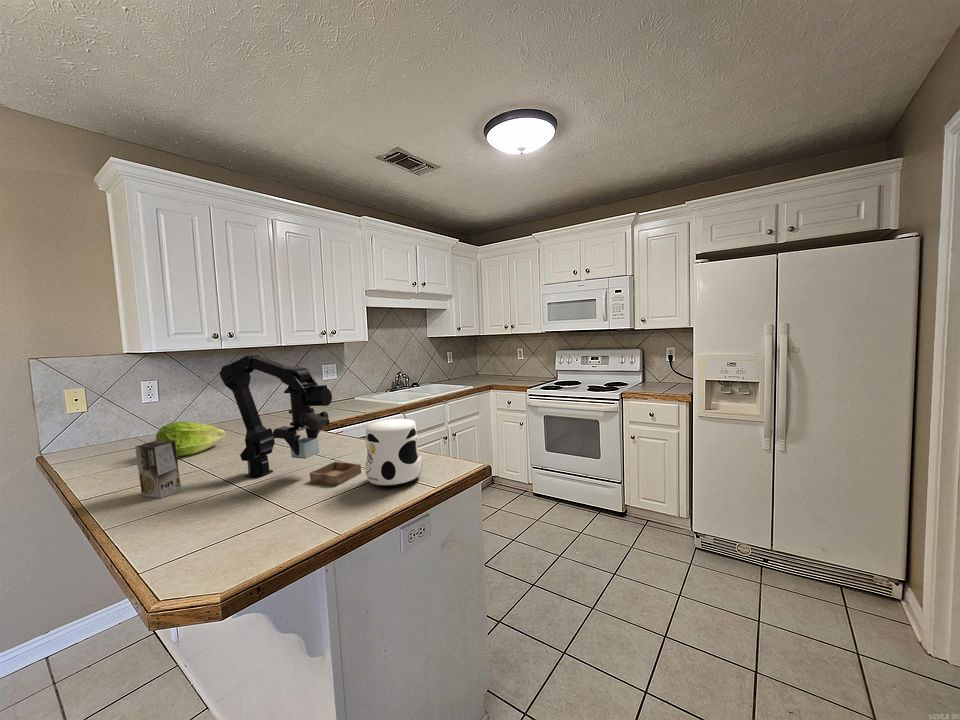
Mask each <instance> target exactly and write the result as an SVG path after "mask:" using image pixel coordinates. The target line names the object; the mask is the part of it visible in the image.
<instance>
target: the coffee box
mask: <svg viewBox="0 0 960 720" xmlns="http://www.w3.org/2000/svg"><path fill="white" fill-rule="evenodd" d="M134 448H135V449H134V450H135V455H136V463H137V469H138V476H139V483H140V491H141V496H142V497H148V498H149V497H150V498H156V499H157V498H158V499H162V498H165V497H168V496H170V495H173V494H175V493H179V492H181V491H182V487H181V480H180V472H179V463H178V457H177V453H176V445H175V441H156V440H153V441H149V442H145V443H143V444H139V445H136V446H135V447H134Z"/></svg>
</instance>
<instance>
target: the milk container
mask: <svg viewBox="0 0 960 720" xmlns="http://www.w3.org/2000/svg"><path fill="white" fill-rule="evenodd" d="M365 428H366V429H365V439H366V441H365V443H366V450H367V451H366V453H367V455H366V461H365V469H364V470H365V475H366V478H367V481H368V482H369V483H370V484H372V485H374V486H377V487H382V488H383V487H384V488H390V487H399V486H404V485H406V484H410V483H412V482H413V481H415V480H416V479H418V478H419V477H420V475H421V474H422V467H423V461H422V457H421V454H420V451H419V447H418V445H419V444H418V434H417V433H418V432H417V425H416V421H415V420H413V419H410V418H409V419H408V418H392V419H391V418H390V419H383V420H379V421H374V422H371V423H369V424H368V425H366V427H365Z"/></svg>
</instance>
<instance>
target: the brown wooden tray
mask: <svg viewBox="0 0 960 720" xmlns="http://www.w3.org/2000/svg"><path fill="white" fill-rule="evenodd" d="M360 474H362V464H360V463H353V462H344V461H333V462H330V463H329V464H327V465H324V466H322V467H320V468H318V469H314V470H313V471H310V472H309V478H310V479H309V480H310V483H315V484H322V485H331V486H336V487H337V486H340V485H341V484H343V483H345V482H347V481H349V480H351V479H353V478H354V477H357V476H358V475H360Z"/></svg>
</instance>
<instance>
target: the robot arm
mask: <svg viewBox="0 0 960 720" xmlns="http://www.w3.org/2000/svg"><path fill="white" fill-rule="evenodd" d="M255 370H257V371H259V372H261V373H263V374H264V373H265V374H268V375H270V376H273V377H276V378H278V379H279V380H280V382H281V383H283V384H284V385H286V386H287V387H286V389H284V391H283V394H289V398H290V410H289V409H288V414H291V418H292V421H291V422H289V426H279V427H277V428H274V430H273V429H272V428H270V427H269V428H266V427H265V426H264V425H263V423H262V420H261V417H260V414H259V412H258V409H257V405H256V404H255V401H254V397H253V395H252V392H251V389H250V383H251V373H253V372H254V371H255ZM219 376H220V379H221V380H222V382H223V384H224V386H225V387H226V388H228V389H229V390H231V392H232V394H233V396H234V400H235V402H236V404H237V407H238V410H239V412H240V416H241V418H242V421H243V424H244V428H245V430H246V434H245V439H244V443H245V448H244V449H243V450H242V452H241V453H240V454H239V456H240V458H241V461H243V462H246V463H247V470H248V473H245V474H244V477H248V478H253V479H258V478H262V477H263V476H266V475H268V474H271V473H272V472H274V470H273V469H270V463H269V456H268V455H271V454H272V453H273V448H274V446H275V444H276V442H275V440H276V439H280V440H281V439H282V440H283V439H284V441H286V443H287V445H288V446H289V447H290V450H291V449H292V450H293V452H294V453H295V455H299V441H298V440H299V439H301V434H298V432H301V431H302V430H305V433H306V438H316V439H318V435H319V433H320V432H321V431H322V430H324V429H325V427H326V426H329V425H330V419H329V414H328V413H329V412H327V411H325V410H324V411H321V412H320V413H319V412H318V413H316V412H315V409H314V407H328V406H330V405H331V402H332V400H333V399H332V398H333V394H332V392H331V390H330V389H329V388H328V385H327V384H320V385H319V384H318V383H317V381H316V380H315V378H314V376H312V374H311V372H310V370H309V368H306V367H302V366H296V365H295V366H293V365H292V366H291V365H285V364H282V363H279V362H276V361H274V360H271V359H267V358H265V357H262V356H260V355H258V354H249V355H245V356H243V357H242V358H240V359H237V360H236V361H234V362H231V363H229V364H226V365H223V366H222V367H221V369H220V371H219ZM272 430H273V431H272Z"/></svg>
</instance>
